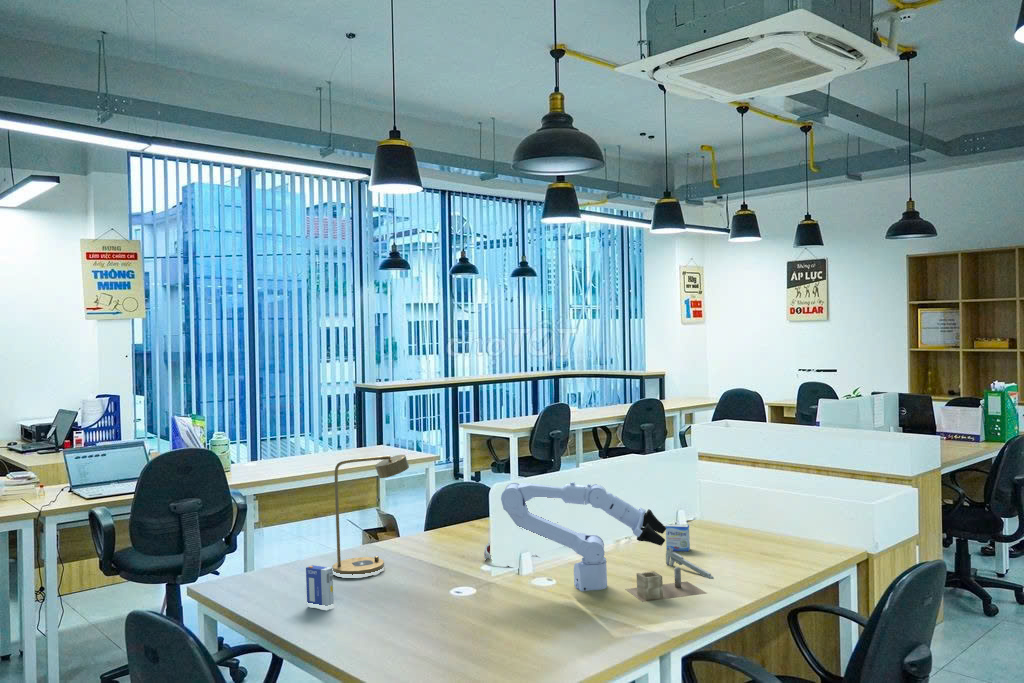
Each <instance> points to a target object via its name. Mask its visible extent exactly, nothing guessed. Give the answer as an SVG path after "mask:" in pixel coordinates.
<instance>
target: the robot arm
mask: <svg viewBox="0 0 1024 683" xmlns="http://www.w3.org/2000/svg"><path fill="white" fill-rule="evenodd" d="M575 482H576V481H570V483H566V484H564V485H563V486H554V485H545V484H538V483H529V482H520V483H518V482H510V483H508V484H507V485H506V487H505V488H504V490H503V492H502V494H501V495H500V496H501V497H500V500H501V505H502V509H503V510H504V511H505V512H506V513H507V514H508V516H509V517H510V518H511V520H512V521H513V522H514V524H515V525H516V527H517V526H519V527H522V528H524V529H526V530H529V531H531V532H533V533H536V534H538V535H540V536H543V537H545V538H548V539H547V540H550V541H552V542H555V543H557V544H558V545H559V544H560V545H562V546H564V547H567V548H569V549H571V550H572V551H574V553H575V554H577V555H579V556H581V557H582V558H581V561H580V562H576V563H574V565H573V582H574V583H573V584H574V587H575V589H578V590H579V591H580V592H586V591H600V590H604V589H607V588H608V573H607V572H608V571H607V567H608V566H607V558H606V557H605V542H604V540H603V538H602V537H600V536H598V535H597V534H586V533H583V532H578V531H574V530H572V529H569V528H567V527H565V526H563V525H560V524H558V523H553V522H551V521H549V520H546V519H544V518H542V517H539V516H537V515H534V514H532V513H530V512H529V511H528V508H527V505H526V503H525V502H526V501H531V500H532V499H535V497H547V498H554V499H561V500H562V501H563V502H564V503H565V504H573V505H582V506H583V505H584V506H585V505H588V504H590V506H591V507H592V508H595V509H600V510H602V511H603V512H605V513H606V514H607V515H609V516H610V517H613V518H614V519H615V520H617V521H619V522H620V523H622V524H624V525H625V526H627V527H628V528H631V530H632V534H633V535H635V537H636V540H637V541H638V542H645V543H652V544H654V545H658V546H660V547H662V546H663V545H664V543H666V538H664V536H662V535H663V534H664V533H665V532H666V525H664V524H663V523H662V522H661V521H660V520H659V519H658V518H657V517H656V516H655V515H654V513H653V511H652V510H651V509H647V511H646V509H645V508H642V507H639V509H638V508H636V507H634V506H633V505H631V504H630V503H628V502H626V500H624V499H622V498H620V497H618V496H617V495H614V494H613V493H611V492H609V491H606V488H604V487H603V486H602V485H601V484H600V485H599V484H596V483H595V484H591V483H587V484H586V485H585V484H577V483H575ZM522 528H521V529H522ZM660 534H662V535H660Z"/></svg>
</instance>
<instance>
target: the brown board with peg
mask: <svg viewBox="0 0 1024 683" xmlns="http://www.w3.org/2000/svg"><path fill="white" fill-rule="evenodd" d="M673 572H674V582H671V583H664V584H663V598H658V599H650V600H644V599H643V598H642V597H640V596H639V595H637V587H632V588H631V587H630V588H625V591H627V592H628V593H629V594H631V595H632V596H634V597H635V598H637V599H638V600H639V601H640V602H642V603H643V602H649V601H650V602H651V601H659V600H667V599H674V598H680V597H681V598H682V597H688V596H696V595H704V594H707V591H705V590H703V589H701V588H699V587H698V586H697V585H694V584H692V583H690V582H689V581H682V573H681V572H682V571H681V568H680V567H679V566H676V567H674V569H673Z"/></svg>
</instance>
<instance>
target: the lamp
mask: <svg viewBox="0 0 1024 683" xmlns="http://www.w3.org/2000/svg"><path fill="white" fill-rule="evenodd" d="M377 460H378V461H379V462H377V463H376V464H374V467H375V470H376V473H377V476H378V478H379V479H386V478H390V477H393V476H396V475H399V474H402V473H404V472H405V471H407V470H408V469H409V468H410V465H409V462H408V459H407V456H406V454H398V455H393V456H391V455H382V456H371V457H362V458H353V459H346V460H342V461H340V462H338V463H337V464H336V465H335V468H334V497H335V498H334V499H335V526H336V527H335V530H336V532H335V534H336V558H337V560H336V561H337V562H335V563H334V564H333V565H332V567H331V568H332V569H333V570H332V572H333V571H334V572H336V573H340V574H352V575H353V574H365V573H371V572H375V571H378V570H380V569H382V568H383V567H384V568H385V561H384V559H382V558H380V557H379V555H376V556H374V557H371V556H370V557H369V556H364V557H362V556H361V557H353V558H348V559H347V558H345V559H343V560H341V540H340V539H341V537H340V533H341V532H340V510H339V509H340V507H339V477H338V476H339V468H340V467H341V466H342V465H345V464H350V463H359V462H360V463H361V462H368V461H369V462H370V461H377ZM380 460H381V461H380Z"/></svg>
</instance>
